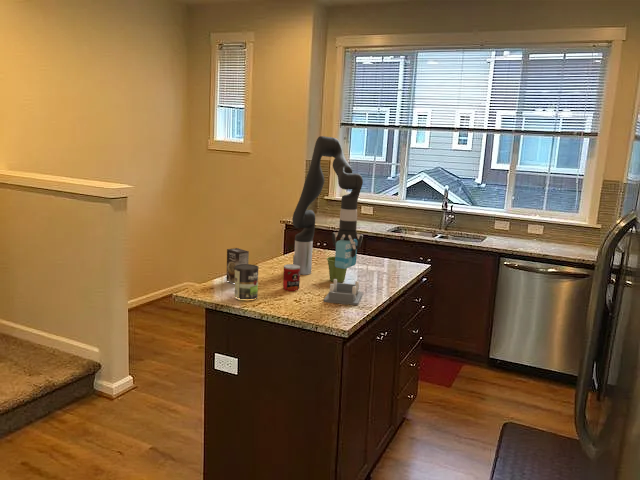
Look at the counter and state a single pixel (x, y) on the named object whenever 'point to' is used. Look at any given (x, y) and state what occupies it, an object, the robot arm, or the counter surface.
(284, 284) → the canned food
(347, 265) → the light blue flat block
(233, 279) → the coffee box
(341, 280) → the plant pot
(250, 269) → the coffee can
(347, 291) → the tray
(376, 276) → the counter surface
